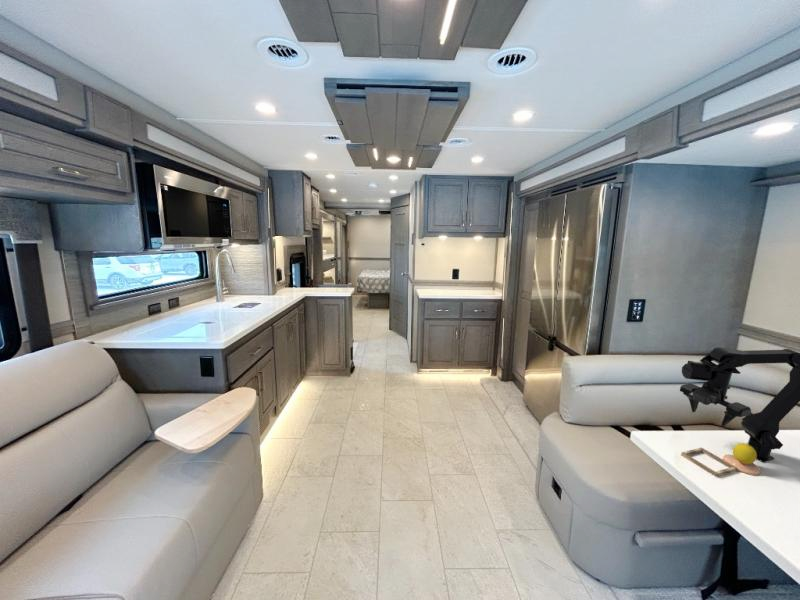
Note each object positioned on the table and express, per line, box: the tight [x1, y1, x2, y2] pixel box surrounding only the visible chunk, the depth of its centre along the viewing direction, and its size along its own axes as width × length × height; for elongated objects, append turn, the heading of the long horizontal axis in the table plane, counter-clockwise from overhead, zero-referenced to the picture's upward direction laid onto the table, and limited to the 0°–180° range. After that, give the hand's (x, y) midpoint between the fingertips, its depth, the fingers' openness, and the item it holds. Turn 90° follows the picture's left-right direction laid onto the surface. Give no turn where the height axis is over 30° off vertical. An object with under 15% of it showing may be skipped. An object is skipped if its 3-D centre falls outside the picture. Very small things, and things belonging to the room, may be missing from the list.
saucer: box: [722, 454, 761, 476], centre depth 109 cm, size 9×9×1 cm
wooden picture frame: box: [680, 447, 738, 478], centre depth 110 cm, size 11×11×1 cm
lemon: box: [732, 442, 757, 464], centre depth 108 cm, size 6×6×8 cm
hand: (707, 418), depth 116 cm, fingers open, 9 cm apart
